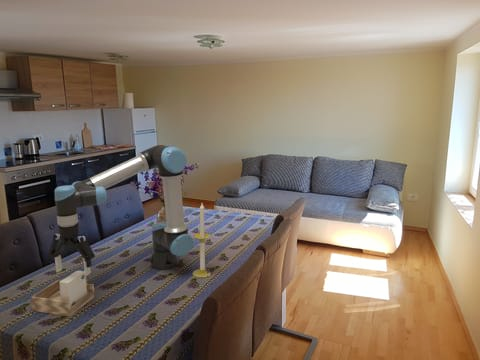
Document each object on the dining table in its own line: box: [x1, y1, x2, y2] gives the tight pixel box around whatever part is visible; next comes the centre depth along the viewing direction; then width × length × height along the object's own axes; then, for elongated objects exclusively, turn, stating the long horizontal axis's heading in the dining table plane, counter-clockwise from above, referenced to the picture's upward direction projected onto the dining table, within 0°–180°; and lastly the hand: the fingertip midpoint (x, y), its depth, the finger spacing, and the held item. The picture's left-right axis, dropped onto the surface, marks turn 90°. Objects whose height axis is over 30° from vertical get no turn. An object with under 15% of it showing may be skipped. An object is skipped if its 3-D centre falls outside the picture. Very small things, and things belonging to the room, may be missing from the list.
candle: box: [192, 203, 211, 278], centre depth 182 cm, size 10×10×38 cm
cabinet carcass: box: [30, 279, 95, 317], centre depth 155 cm, size 18×16×6 cm
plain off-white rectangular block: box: [59, 270, 87, 307], centre depth 153 cm, size 4×11×12 cm, turn 167°
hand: (73, 272), depth 152 cm, fingers open, 13 cm apart
